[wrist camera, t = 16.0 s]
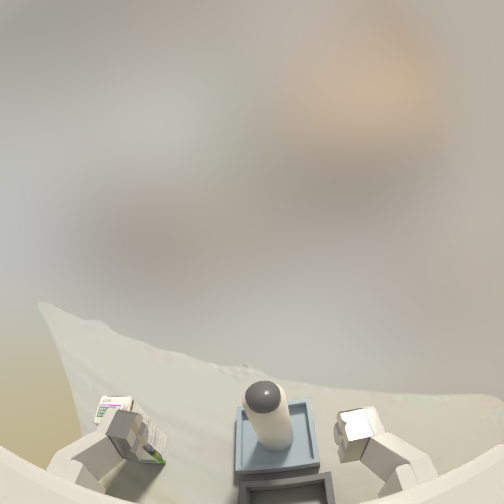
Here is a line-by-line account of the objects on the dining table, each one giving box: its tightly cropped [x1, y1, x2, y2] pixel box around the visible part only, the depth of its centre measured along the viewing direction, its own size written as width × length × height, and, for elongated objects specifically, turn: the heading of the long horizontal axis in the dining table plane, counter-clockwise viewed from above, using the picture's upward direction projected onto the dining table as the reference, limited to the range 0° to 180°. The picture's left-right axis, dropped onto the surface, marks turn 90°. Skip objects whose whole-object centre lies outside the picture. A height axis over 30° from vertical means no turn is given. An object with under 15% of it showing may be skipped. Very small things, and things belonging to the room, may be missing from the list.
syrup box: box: [94, 396, 168, 464], centre depth 35 cm, size 6×6×14 cm
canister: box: [242, 381, 294, 452], centre depth 35 cm, size 6×6×14 cm
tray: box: [235, 398, 320, 474], centre depth 38 cm, size 13×13×2 cm
